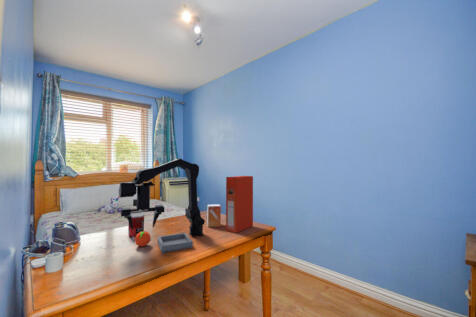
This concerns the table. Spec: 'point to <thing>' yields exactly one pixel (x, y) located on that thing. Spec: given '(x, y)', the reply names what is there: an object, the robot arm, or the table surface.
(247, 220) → the file binder
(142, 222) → the canned food
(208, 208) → the small box
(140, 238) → the clementine
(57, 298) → the table surface
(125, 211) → the robot arm
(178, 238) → the tray
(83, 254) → the table surface
